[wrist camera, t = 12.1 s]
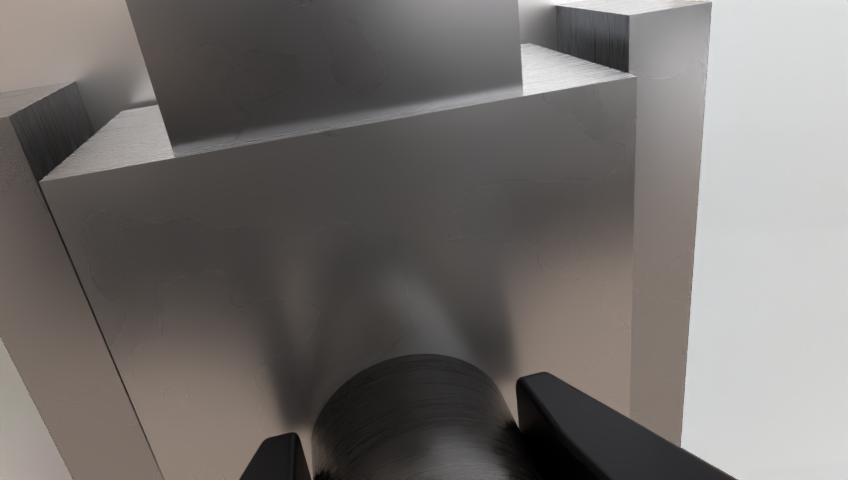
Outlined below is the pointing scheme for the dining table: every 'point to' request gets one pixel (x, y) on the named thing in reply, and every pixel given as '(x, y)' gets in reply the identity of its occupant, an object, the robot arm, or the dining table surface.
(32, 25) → the press base
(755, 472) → the dining table surface
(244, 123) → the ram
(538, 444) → the robot arm
